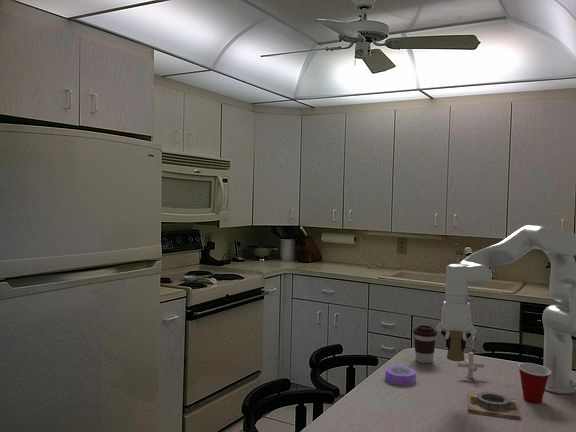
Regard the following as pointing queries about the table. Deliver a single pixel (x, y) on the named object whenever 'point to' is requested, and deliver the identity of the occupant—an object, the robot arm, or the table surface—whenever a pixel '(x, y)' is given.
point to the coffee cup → (424, 343)
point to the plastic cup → (533, 381)
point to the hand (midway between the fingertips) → (455, 349)
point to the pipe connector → (470, 365)
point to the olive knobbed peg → (455, 346)
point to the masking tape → (400, 375)
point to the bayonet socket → (493, 405)
